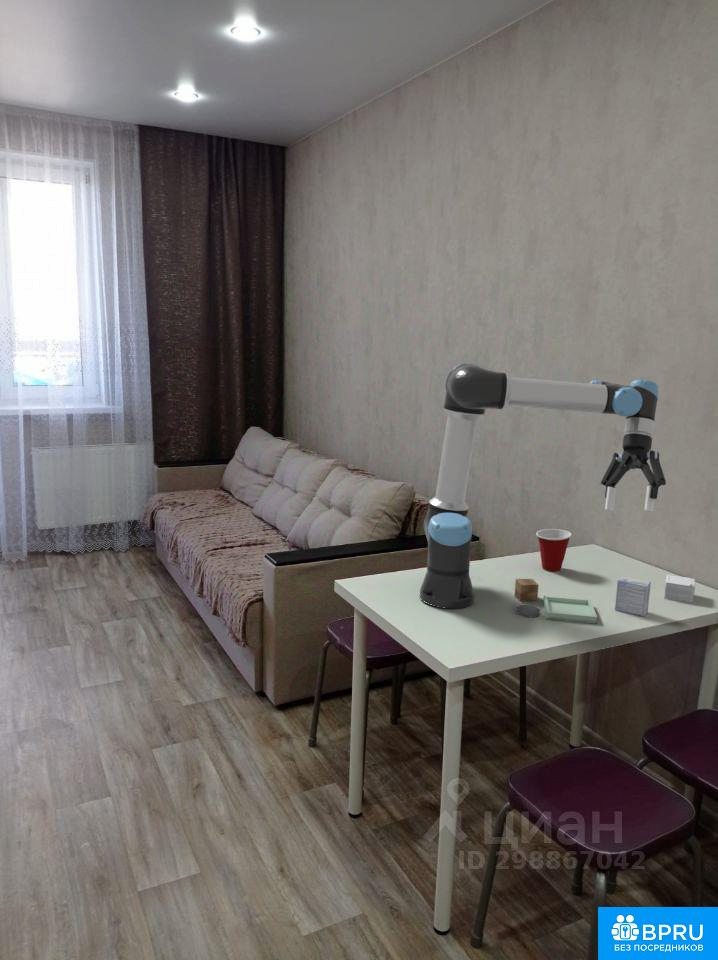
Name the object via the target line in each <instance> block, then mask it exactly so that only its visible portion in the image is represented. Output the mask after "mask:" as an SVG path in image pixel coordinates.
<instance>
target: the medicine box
mask: <svg viewBox="0 0 718 960" xmlns="http://www.w3.org/2000/svg"><path fill="white" fill-rule="evenodd" d="M616 582H617V583H616V592H615V593H616V594H615V603H614V610H615V611H619V612H623V613H629V614H633V615H636V616H637V615H638V616H641V617H645V616H646V614H648V611H649V604H650V602H649V601H650V594H651V581H647V580H641V579H638V578H632V577H628V576H621V577H620V578H619V579H617V581H616Z"/></svg>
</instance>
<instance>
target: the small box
mask: <svg viewBox="0 0 718 960" xmlns="http://www.w3.org/2000/svg"><path fill="white" fill-rule="evenodd" d="M664 586H665V587H664V596H663V597H664V599H665V600H671V601H677V602H684V603H689V604H690V603H691V604H694V600H695V591H696V590H695V589H696V579H695V578H694V577H693V578H692V577H687V576H678V575H671V574H667V575H666V577H665V585H664Z"/></svg>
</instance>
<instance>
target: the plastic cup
mask: <svg viewBox="0 0 718 960" xmlns="http://www.w3.org/2000/svg"><path fill="white" fill-rule="evenodd" d="M535 535H536V536H537V540H538V543H539V553H540V561H541V568H542V569H543V570H544V571H548V572H555V573H556V572H560V571H561V569H562V566H563V563H564V560H565V557H566V556H565V555H566V553H567V548H568V544H569V541H570V538H571V536H572V533H571V532H570V531H568V530H564V529H558V528H548V529H547V528H546V529H540V530H538V531H536V534H535Z"/></svg>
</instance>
